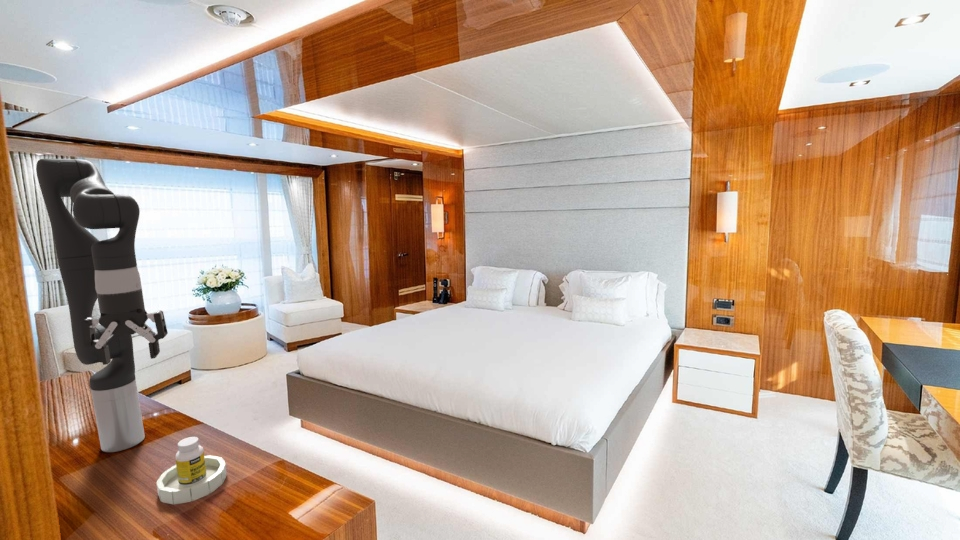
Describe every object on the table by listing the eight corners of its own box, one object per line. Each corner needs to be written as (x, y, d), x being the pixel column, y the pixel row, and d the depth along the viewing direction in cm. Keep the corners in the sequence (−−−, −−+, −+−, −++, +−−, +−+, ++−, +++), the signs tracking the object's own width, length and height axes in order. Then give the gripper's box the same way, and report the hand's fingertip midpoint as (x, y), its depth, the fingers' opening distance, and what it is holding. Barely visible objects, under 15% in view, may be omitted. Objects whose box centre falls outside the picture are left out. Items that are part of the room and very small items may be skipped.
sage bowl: (153, 484, 101) (152, 473, 100) (217, 460, 110) (215, 449, 109) (165, 512, 92) (163, 500, 91) (233, 483, 101) (232, 471, 100)
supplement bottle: (193, 489, 97) (187, 449, 96) (173, 486, 98) (167, 446, 97) (212, 474, 103) (207, 435, 101) (193, 471, 104) (187, 433, 102)
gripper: (164, 282, 99) (173, 350, 102) (85, 288, 94) (97, 359, 97) (154, 289, 93) (164, 361, 95) (68, 295, 87) (82, 371, 90)
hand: (130, 360), depth 96 cm, fingers open, 8 cm apart
